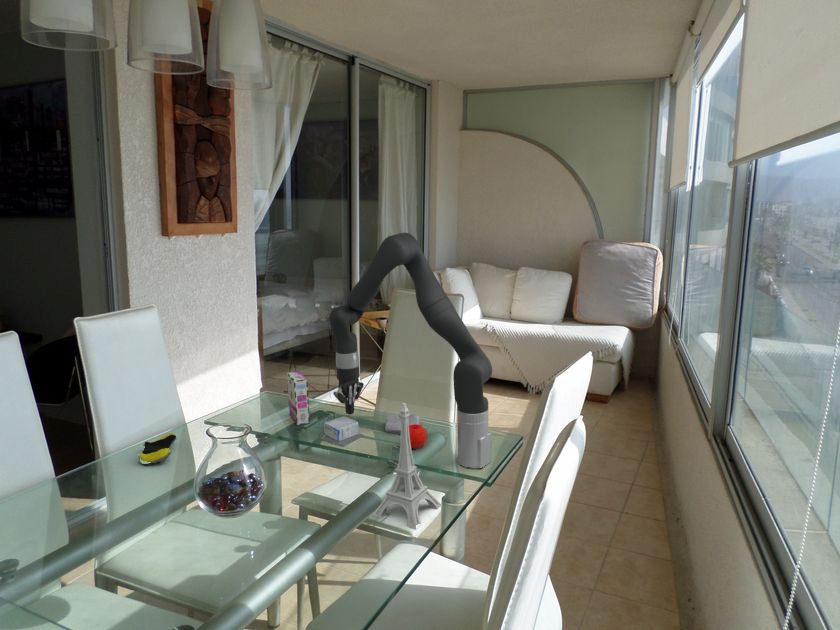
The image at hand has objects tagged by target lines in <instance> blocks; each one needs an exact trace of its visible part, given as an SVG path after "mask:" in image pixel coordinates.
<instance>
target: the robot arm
mask: <svg viewBox="0 0 840 630" xmlns="http://www.w3.org/2000/svg"><path fill="white" fill-rule="evenodd" d="M399 266H400V267H401V266H404V267H405V269H406V271H407V272H408V274H409V276H410V277H411V279H412V282H413V285H414V286H413V287H414V291H415V299H416V303H417V306H418V310H419V311H420V313H421V315H422V316H423V318H424V320H425V321H426V323H427V325H428V326H429V327H430V328H431V329H432V331H434V332H435V333H436V334H437V335H438V336H440V338H442V339H443V340H445V341H446V342H447V343H448V344H449V345H450V346H451V347H452V348H453V349H454V351H455V353H456V355H457V357H458V358H459V361H458V362H457V363H456V364H455V366H454V368H453V376H452V377H453V395H454V400H455V403H456V407H457V408H456V411H457V413H456V414H457V415H456V416H457V417H456V418H457V419H456V421H457V429H456V430H457V463H458V464H459V465H460V464H461V465H462V466H461V465H460V466H461V467H463V466H466V467H471V468H470V469H478V468H482V467H483V468H484V466H485V465H486V466H487V465H489V464H490V463H491V462H492V432H491V431H489V400H488V398H487V397H486V396H484V384H485V383H486V382H487V381H488V380H489V379H490V378H491V377H492V374H493V365H492V363H491V361H490V359H489V357H488V356H487V355H486V353H485V351H483V349H482V348H481V346H479V344H478V343H477V341H476V340H475V338H474V337H473V336H472V334H471V333H470V331H469V330H468V328H467V326H466V325H465V323H464V321H463V320H462V318H461V317H460V315H459V313H458V311H457V310H456V308H455V306H454V305H453V303H452V301H451V300H450V298H449V296H448V294H447V293H446V291H445V290H444V288H443V287H442V285H441V284H440V281H439V280H438V278H437V277H436V275H435V273H434V272H433V270H432V268H431V266H430V264H429V261H428V260H427V258H426V256H425V254H424V251H423V250H422V247H421V246H420V243H419V242H418V240H417V239H416V237H415V236H414V235H412V234H411V233H408V232H401V233H396V234H392V235H388V236H387V237H386V238H384V239H383V241H382V242H381V244H380V245H379V247H378V249H377V250H376V253H375V255H374V257H373V258H372V260H371V262H370V263H369V266H368V267H367V269H366V270H365V271H364V273H363V275H362V276H361V277H360V279H359V280H358V281H357V283H356V284H354V286H353V287H352V289H351V290H350V291H349V293H348V294H347V298H346V301H347V302H346V303H345V304H341V305H338V306H336V307H333V308H332V310H331V311H330V313H329V316H328V317H329V318H328V319H329V324H330V328H331V331H332V335H333V338H334V341H335V368H336V369H335V370H336V379H337V380H338V385H337V387H338V388H337V390H336V391H334V392H333V396H334V397H335V398H336V399H337V401H338V402H339V403H341V404H342V405H344V407H345V408H344V409H345V413H346V414H347V415H349V416H350V415H353V414H355V403H356V401H357V400H359V397H360V395H361V393H362V390H363V388H364V385H365V384H364V383H363V382H361V381H360V380H359V378H360V358H359V352H358V350H359V349H358V338H357V335H356V333H355V332H351V331H349V327H350V326H353V325H355V324H356V323H358V322H359V321H360V320H361V319H362V317H363V316H364V313H365V311H366V308H367V307H368V306H369V304H370V303H371V302H372V301H373V299H374V298H375V297H376V296H377V295H378V293H379V292H380V290H381V285H382V283H383V281H384V280H385V278H386V277H387V276H388V275H389V274H390V273H391V271H393V270H394V269H395V268H397V267H399ZM488 463H489V464H488ZM486 466H485V467H486ZM466 467H465V468H466ZM483 468H482V469H483Z"/></svg>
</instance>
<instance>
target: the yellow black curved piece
mask: <svg viewBox="0 0 840 630" xmlns="http://www.w3.org/2000/svg"><path fill="white" fill-rule="evenodd" d="M176 440H177V435H176V434H175V433H174V432H170V433H166V434H165V435H164V436H161V437H160V438H158V439H156V440H155V441H150V440H149V441H144V442H142V446H143V449H144V450H143V449H142V452H139V453H137V456H138V458H139V457H140V458H141V460H143V461H147V462H151V463H154V464H158V463H157V462H160V463H163V462H164V461H166V460H168V459H169V457H170V455H171V454H172V451H171V449H170V448H171V447H172V446H173V444H174V443H175V442H176ZM144 446H145V448H144ZM169 447H170V448H169ZM168 448H169V449H168Z"/></svg>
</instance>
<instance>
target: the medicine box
mask: <svg viewBox="0 0 840 630" xmlns="http://www.w3.org/2000/svg"><path fill="white" fill-rule="evenodd" d="M323 423H324V426H323V429H324V435H325V436H329V437H331V438H333V439H335V440H337V441H341V440H344V439H346V438H349V437H352V436H355V435H357V434H360V429H359V422H358V421H356V420H354V419H351V418H350V417H347V416H345V415H343V416H340V417H337V418H334V419H331V420H328V421H325V422H323Z"/></svg>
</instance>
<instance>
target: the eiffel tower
mask: <svg viewBox="0 0 840 630" xmlns="http://www.w3.org/2000/svg"><path fill="white" fill-rule="evenodd" d="M409 415H411V413H410V410H409V408H408V406H407V403H406V402H402V404H401V408H400V409H399V415H398V416H399V417H400V418H401V434H400V442H399V443H400V444H399V456H398V462H397V463H398V465H397V468H395V472H396V474H395V476H394V477H395V478H394V480H393V482H392V484H391V488H389V490H387V491H386V492H385V495H386V497H385V498H384V499H383V500H382V502H381V503H380V504H379V506H378V508H376V510H375V511H374V512H373V514H372V515H371V516H372V517H375V518H377V519H382V518H384V517H385V516H386V515H387V512H386V511H387V510H388V508H389V506H391V505H394V504H395V505H399V506H401V507H402V508H403V510H405V512H406V515H407V518H408V519H407V520H408V522H407V524H408V525H407V526H406V527H407V528H410V529H413V530H417V529H416V525H418V524H421V520H420V517H419V506H420V503H421V501H423V500H424V501H426V502H427V503H428V506H427V507H428V508H431V509H434V510H439V508H441V507H442V506H443V504H442V503H441V502H439V501H438V499H437V498H436V497H435V496H434V495H433V494H432V493H430V491H429V490H428V486H427V485H424V484H423V483H422V480H421V478H420V476H419V475H418V472H417V468H418V465H417V466H416V465H415V461H414V457H413V449H412V448H411V444H410V436H409V425H408V417H409Z"/></svg>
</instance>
